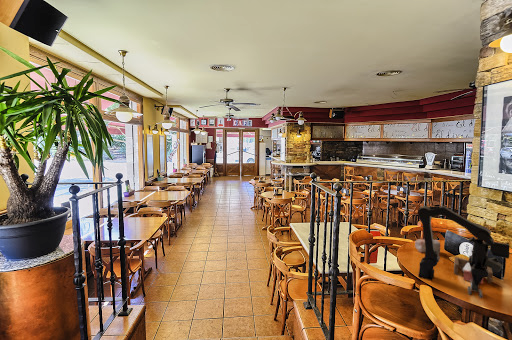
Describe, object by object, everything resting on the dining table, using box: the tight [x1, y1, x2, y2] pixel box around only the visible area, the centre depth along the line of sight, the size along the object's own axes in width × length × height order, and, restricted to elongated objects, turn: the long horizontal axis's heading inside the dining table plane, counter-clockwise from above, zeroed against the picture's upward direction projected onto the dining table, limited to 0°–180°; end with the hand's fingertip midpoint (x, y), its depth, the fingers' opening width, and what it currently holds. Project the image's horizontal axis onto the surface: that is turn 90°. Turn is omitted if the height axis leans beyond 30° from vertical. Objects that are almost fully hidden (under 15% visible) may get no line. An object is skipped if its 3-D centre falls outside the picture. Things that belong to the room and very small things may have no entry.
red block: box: [462, 270, 484, 293], centre depth 136 cm, size 8×14×8 cm, turn 144°
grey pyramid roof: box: [461, 263, 471, 273], centre depth 145 cm, size 8×9×10 cm
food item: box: [414, 238, 441, 255], centre depth 178 cm, size 14×8×10 cm, turn 85°
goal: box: [453, 256, 494, 284], centre depth 149 cm, size 16×12×6 cm
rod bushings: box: [467, 285, 483, 299], centre depth 131 cm, size 5×6×2 cm
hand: (476, 281), depth 132 cm, fingers open, 9 cm apart
